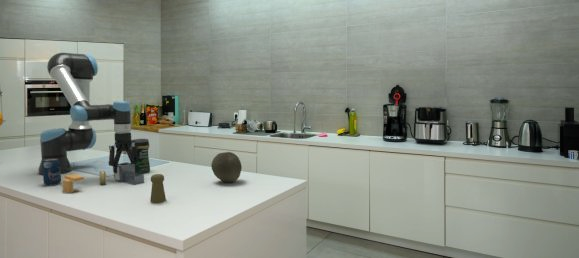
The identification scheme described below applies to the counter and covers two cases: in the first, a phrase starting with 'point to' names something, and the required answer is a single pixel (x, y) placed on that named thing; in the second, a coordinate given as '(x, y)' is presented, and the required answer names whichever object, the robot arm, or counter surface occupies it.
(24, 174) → the counter surface
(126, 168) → the link
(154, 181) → the cork
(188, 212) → the counter surface
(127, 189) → the counter surface
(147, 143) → the coffee jar
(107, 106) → the robot arm
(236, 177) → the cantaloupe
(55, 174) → the soda can
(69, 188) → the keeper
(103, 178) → the pin
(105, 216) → the counter surface
